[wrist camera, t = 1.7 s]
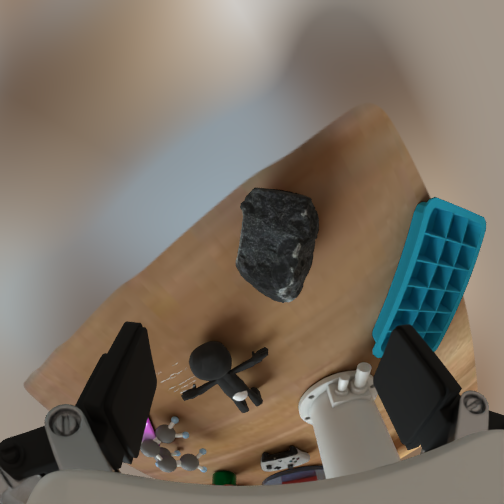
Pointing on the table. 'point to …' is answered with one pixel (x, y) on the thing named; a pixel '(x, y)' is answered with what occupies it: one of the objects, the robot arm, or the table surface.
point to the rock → (277, 242)
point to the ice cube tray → (431, 272)
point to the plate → (295, 475)
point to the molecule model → (164, 456)
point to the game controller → (284, 459)
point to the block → (302, 480)
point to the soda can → (224, 478)
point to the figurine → (222, 373)
